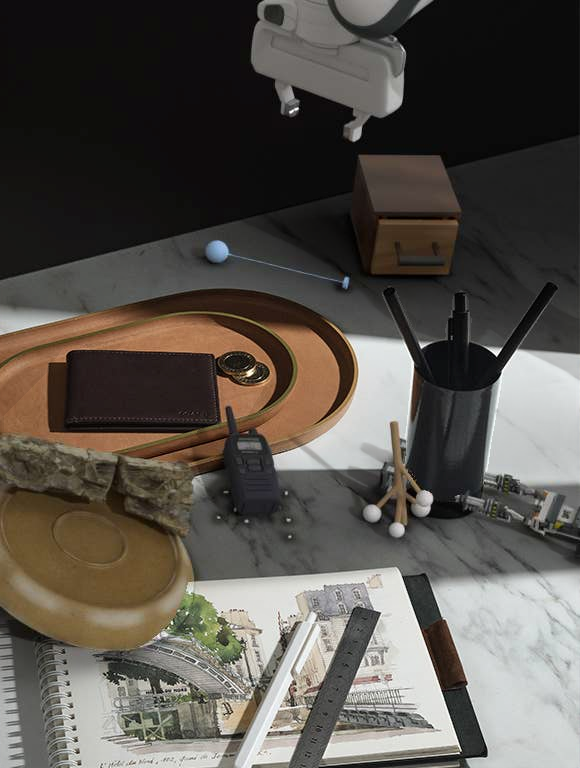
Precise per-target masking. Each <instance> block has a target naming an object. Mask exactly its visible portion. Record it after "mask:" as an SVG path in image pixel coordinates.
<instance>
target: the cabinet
mask: <svg viewBox="0 0 580 768" xmlns="http://www.w3.org/2000/svg"><path fill="white" fill-rule="evenodd" d="M353 181H354V182H353V188H352V196H351V203H350V210H349V216H350V221H351V224H352V228H353V231H354V236H355V240H356V243H357V247H358V251H359V255H360V259H361V264H362V268H363V271H364V273H365V274H372V272H371V264H372V257H373V251H374V245H375V238H376V232H377V225H378V220H379V216H383V217H449V220H457V222H458V229H457V234H456V239H455V244H454V249H453V254H452V259H451V264H450V269H449V273H450V271H451V267H452V261H453V257H454V252H455V247H456V242H457V237H458V232H459V227H460V222H461V217H462V213H463V212H462V209H461V206H460V204H459V202H458V199H457V196H456V194H455V192H454V188H453V186H452V184H451V181H450V177H449V175H448V173H447V171H446V168H445V165H444V162H443V160H442V157H441V155H438V154H437V155H434V154H433V155H432V154H431V155H422V154H421V155H419V154H418V155H417V154H414V155H413V154H412V155H411V154H357V161H356V168H355V174H354V180H353Z"/></svg>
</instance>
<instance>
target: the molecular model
mask: <svg viewBox="0 0 580 768" xmlns="http://www.w3.org/2000/svg"><path fill="white" fill-rule="evenodd" d="M205 256H206V258H207V259H208V261H210V262H212V263H214V264H220V263H222V262H224V261H225V260H226V259H228V257H231V256H232V257H235V258H239V259H245V260H249V261H253V262H257V263H260V264H261V263H262V264H266V265H268V266H269V265H270V266H273V267H277V268H281V269H284V270H288V271H293V272H297V273H301V274H306V275H309V276H314V277H317V278H321V279H324V280H325V279H326V280H331V281H335V282H339V283H341V284H342V286H341V287H342V289H343V290H347V289H348V287H349V283H350V277H348V276H345V277H344V279H343V280H337V279H333V278H328V277H323V276H320V275H316V274H312V273H307V272H304V271H298V270H296V269H295V270H294V269H292V268H288V267H283V266H279V265H274V264H271V263H267V262H263V261H259V260H255V259H251V258H247V257H242V256H238V255H234V254H232V253H230V251H229V247H228V246H227V245H226V243H225V242H223V241H222V240H212V241H210V242H209V243H208V245H207V246H206V248H205Z"/></svg>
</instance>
